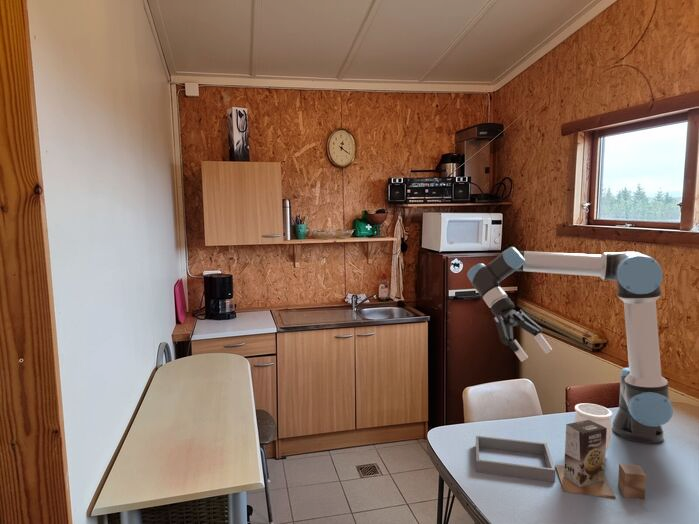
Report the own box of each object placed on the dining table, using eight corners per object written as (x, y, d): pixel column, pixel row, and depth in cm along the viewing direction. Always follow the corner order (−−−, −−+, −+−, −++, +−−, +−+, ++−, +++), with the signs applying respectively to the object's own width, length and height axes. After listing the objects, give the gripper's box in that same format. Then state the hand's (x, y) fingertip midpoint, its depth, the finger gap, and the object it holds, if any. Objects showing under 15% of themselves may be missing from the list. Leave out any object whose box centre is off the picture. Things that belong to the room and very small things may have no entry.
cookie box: (580, 488, 127) (582, 433, 125) (562, 476, 133) (564, 423, 132) (605, 481, 130) (607, 427, 128) (586, 470, 136) (589, 418, 134)
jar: (568, 454, 146) (570, 410, 144) (578, 442, 153) (580, 400, 152) (605, 466, 139) (607, 419, 137) (614, 453, 146) (616, 409, 145)
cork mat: (602, 472, 136) (602, 470, 136) (615, 498, 123) (615, 496, 123) (555, 466, 139) (555, 464, 139) (563, 491, 127) (563, 489, 127)
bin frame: (546, 453, 147) (546, 443, 146) (555, 481, 131) (555, 470, 131) (475, 445, 152) (475, 435, 152) (476, 471, 137) (476, 460, 137)
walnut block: (637, 489, 128) (639, 465, 127) (644, 499, 123) (646, 475, 122) (618, 486, 129) (619, 463, 128) (623, 497, 124) (625, 473, 123)
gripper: (514, 304, 167) (550, 354, 156) (469, 313, 153) (506, 369, 142) (527, 292, 162) (566, 342, 151) (482, 300, 148) (521, 356, 137)
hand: (537, 355), depth 147 cm, fingers open, 13 cm apart
